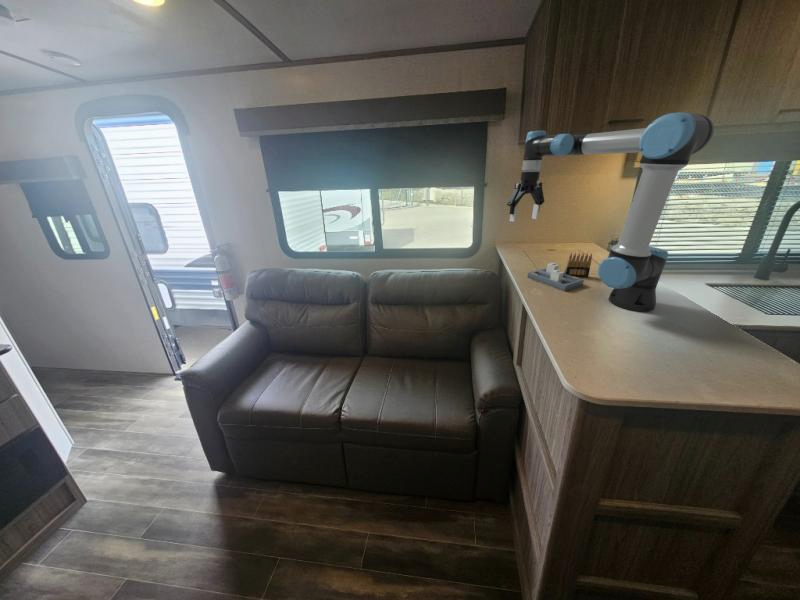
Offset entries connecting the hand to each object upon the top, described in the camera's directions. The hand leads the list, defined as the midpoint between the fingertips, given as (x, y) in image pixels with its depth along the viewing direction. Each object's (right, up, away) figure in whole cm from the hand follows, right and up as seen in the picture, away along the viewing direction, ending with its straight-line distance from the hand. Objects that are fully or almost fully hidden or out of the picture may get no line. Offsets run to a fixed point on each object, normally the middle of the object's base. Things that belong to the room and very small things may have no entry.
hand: (523, 220), depth 141 cm
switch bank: (+15, -29, +2) cm, 33 cm away
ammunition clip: (+29, -26, +8) cm, 40 cm away
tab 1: (+16, -25, +6) cm, 30 cm away
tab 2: (+14, -29, -3) cm, 32 cm away
